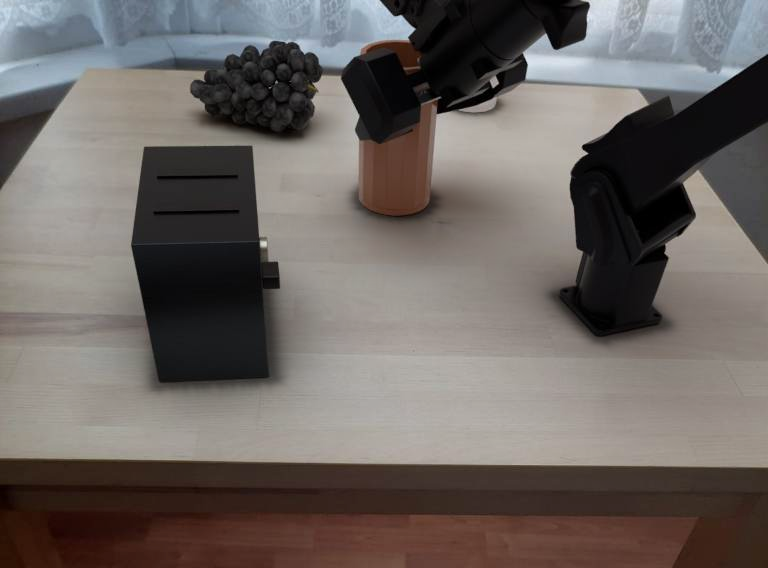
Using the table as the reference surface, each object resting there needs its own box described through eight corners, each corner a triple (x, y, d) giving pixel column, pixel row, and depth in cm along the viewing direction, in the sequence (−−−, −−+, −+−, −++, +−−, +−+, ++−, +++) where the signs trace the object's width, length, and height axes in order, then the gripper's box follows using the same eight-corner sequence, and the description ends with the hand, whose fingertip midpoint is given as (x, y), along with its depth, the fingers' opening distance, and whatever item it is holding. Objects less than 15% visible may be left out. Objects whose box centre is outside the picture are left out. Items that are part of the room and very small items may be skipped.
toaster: (275, 274, 68) (268, 143, 59) (285, 376, 59) (278, 238, 50) (166, 277, 66) (143, 143, 58) (158, 382, 57) (130, 242, 49)
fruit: (172, 28, 80) (314, 43, 78) (204, 32, 87) (334, 46, 86) (175, 122, 85) (310, 138, 83) (205, 119, 92) (330, 134, 90)
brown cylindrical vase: (440, 191, 79) (453, 49, 69) (412, 222, 75) (421, 75, 65) (377, 175, 81) (381, 34, 71) (346, 204, 76) (346, 59, 67)
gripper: (524, -100, 63) (413, 18, 76) (361, -66, 54) (266, 62, 67) (582, 36, 66) (465, 128, 79) (436, 91, 56) (330, 186, 69)
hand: (386, 124), depth 73 cm, fingers closed on brown cylindrical vase, 7 cm apart
